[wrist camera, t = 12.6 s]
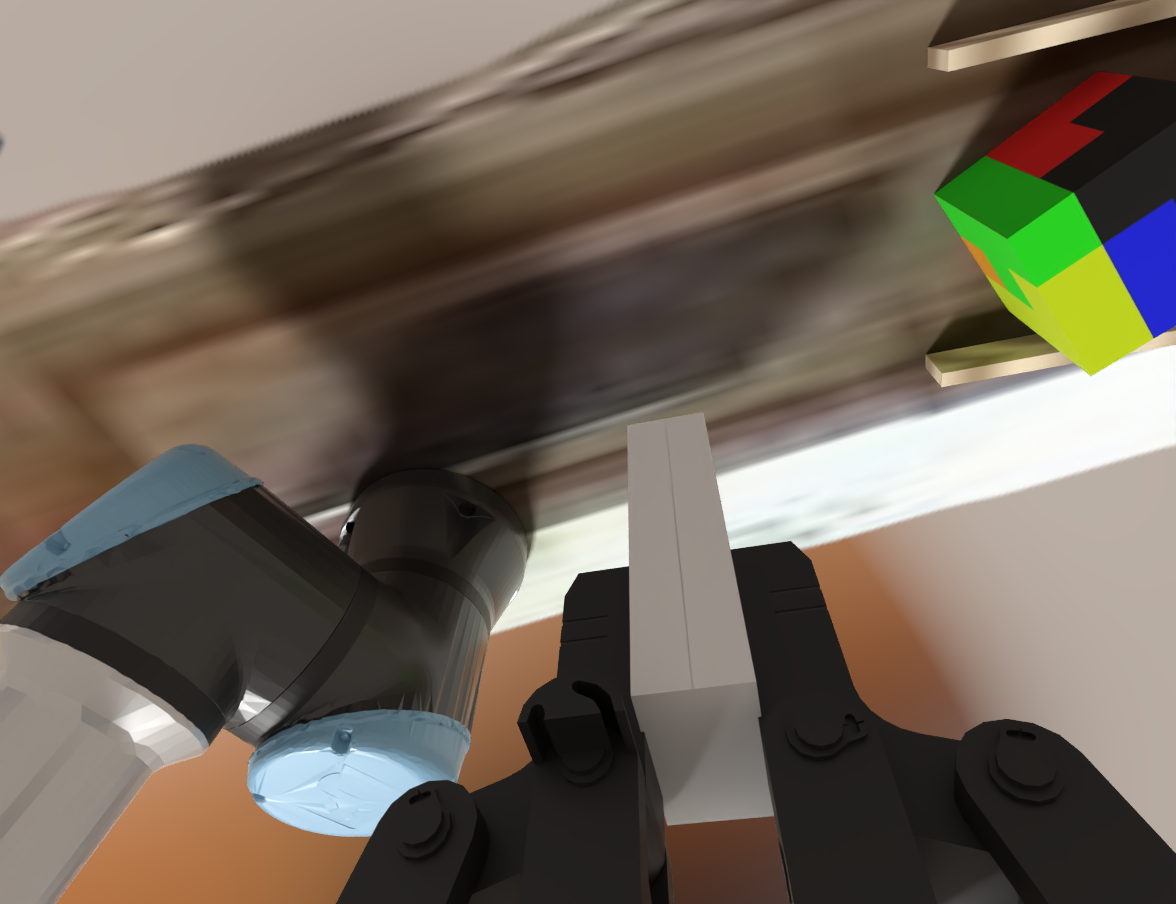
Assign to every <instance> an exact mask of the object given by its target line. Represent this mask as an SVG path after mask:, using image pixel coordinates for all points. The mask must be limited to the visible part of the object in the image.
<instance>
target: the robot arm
mask: <svg viewBox="0 0 1176 904" xmlns="http://www.w3.org/2000/svg"><path fill="white" fill-rule="evenodd" d="M627 426H628V511H629V566H628V567H621V568H614V569H607V570H600V571H593V572H586V573H579V574H578V576H577V577H576V579H575V581H574V582H573V584H572V586H571V587H570V589H569V590H568V592H567V594H566V595H565V599H564V610H563V620H562V621H563V626H562V630H561V640H560V642H561V647H560V651H559V661H558V671H557V678H554V679H553V680H551V681H549V682H548V683H546V684H544V685H543V686H541V687H540V688H538V689H537V690H536V691H535V692H534V693H533V694H532V696H531V697H530V698H529V699H528V700H527V701H526V703H525V704H524V705H523V708H522V711H521V713H520V716H519V719H518V722H517V724H518V726H519V729H520V731H521V733H522V736H523V738H524V740H525V743H526V745H527V748H528V750H529V752H530V755H531V757H532V761H531V762H530V763H528V764H527V765H526V766H525V767H524V768H522V769H521V770H520V771H518V772H516V773H514V774H512V775H511V776H509V777H507V778H505V779H502V780H500V781H498V782H495V783H493V784H491V785H488V786H486V787H484V788H481V789H479V790H477V791H474V792H472V793H469V792H468V791H467V790H466V789H465V787H464V786H462V785H460V784H457V781H458V777H459V774H460V770H461V767H462V764H463V760H464V757H465V755H466V753H467V751H468V749H469V747H470V744H471V743H470V739H471V736H470V734H471V729H472V724H473V719H474V714H475V708H476V703H477V698H478V693H479V687H480V682H481V677H482V672H483V667H484V661H485V656H486V651H487V646H488V640H489V635H490V631H491V630H492V628H493V627H494V625H495V624H496V622H497V621H498V619H499V618H500V616H501V615H502V613H503V612H504V610H505V609H506V607H507V606H508V605H509V604H510V603H511V601H512V600H513V599H514V597H515V596H516V594H517V593H518V591H519V589H520V586H521V584H522V581H523V577H524V572H525V567H526V561H527V553H528V546H527V539H526V535H525V532H524V529H523V526H522V524H521V522H520V520H519V518H518V517H517V515H516V514H515V512H514V511H513V509H512V508H511V507H510V506H509V505H508V504H507V503H506V502H505V501H504V500H503V499H502V498H501V497H500V496H499V495H498V494H496V493H495V492H494V491H492V490H491V489H490V488H488V487H486V486H485V485H483V484H481V483H479V482H477V481H475V480H473V479H471V478H469V477H466V476H463V475H460V474H457V473H453V472H449V471H443V470H436V469H412V470H405V471H401V472H397V473H393V474H390V475H388V476H385V477H383V478H381V479H379V480H377V481H375V482H374V483H372V484H371V485H370V486H368V487H367V488H366V489H365V490H364V491H363V492H362V493H361V494H360V495H359V496H358V497H357V499H356V500H355V502H354V504H353V505H352V507H351V509H350V511H349V513H348V515H347V517H346V518H345V520H344V523H343V525H342V528H341V532H340V536H339V546H338V547H337V546H336V545H335V544H334V543H332V542H331V541H330V540H329V539H328V538H326V537H325V536H324V535H323V534H322V533H320V532H319V531H318V530H317V529H315V528H314V527H313V526H312V525H311V524H309V523H308V522H307V521H306V520H304V519H303V518H302V517H301V516H300V515H298V514H297V513H296V512H295V511H293V510H292V509H291V508H290V507H289V506H287V505H286V504H285V503H284V502H283V501H281V500H280V499H279V498H278V497H276V496H275V495H274V494H273V493H272V492H270V491H269V490H268V489H267V488H265V487H264V486H263V483H264V482H263V481H261V480H260V479H258V478H255V477H254V478H251V477H250V476H249V475H247V474H246V473H245V472H243V471H242V470H240V469H239V468H238V467H236V466H235V465H234V464H232V463H231V462H230V461H228V460H227V459H225V458H224V457H223V456H221V455H220V454H219V453H217V452H216V451H214V450H213V449H211V448H209V447H206V446H203V445H198V444H186V445H181V446H177V447H174V448H172V449H170V450H168V451H166V452H165V453H163V454H161V455H160V456H158V457H157V458H155V459H154V460H152V461H151V462H149V463H148V464H146V465H145V466H143V467H142V468H140V469H139V470H138V471H136V472H135V473H133V474H132V475H131V476H129V477H128V478H126V479H125V480H123V481H122V482H121V483H119V484H118V485H117V486H115V487H114V488H112V489H111V490H110V491H108V492H107V493H105V494H104V495H103V496H101V497H100V498H99V499H97V500H96V501H95V502H93V503H92V504H91V505H89V506H88V507H87V508H85V509H84V510H83V511H81V512H80V513H79V514H77V515H76V516H75V517H73V518H72V519H71V520H70V521H68V522H67V523H66V524H64V525H63V526H62V527H61V528H60V529H59V530H58V531H56V532H55V533H53V534H52V535H50V536H49V537H48V538H47V539H45V540H44V541H43V542H42V543H40V544H39V545H38V546H36V547H34V548H33V549H32V550H30V551H29V552H28V553H26V554H25V555H24V556H23V557H21V558H20V559H19V560H18V561H16V562H15V563H14V564H13V565H12V566H10V567H9V568H8V569H7V570H6V571H5V572H4V573H3V574H2V576H1V577H0V587H1V588H2V589H3V590H4V591H5V596H6V598H8V599H10V600H12V601H13V600H15V601H17V600H18V601H19V602H18V603H17V605H16V606H15V607H14V608H13V609H12V610H11V611H10V612H9V613H8V614H7V615H5V616H4V617H3V618H2V619H1V620H0V904H56V903H57V901H58V900H59V899H60V897H61V896H62V895H63V893H64V892H65V891H66V889H67V888H68V886H69V885H70V884H71V882H72V881H73V880H74V878H75V877H76V876H77V874H78V873H79V872H80V870H81V869H82V867H83V866H84V865H85V863H86V862H87V861H88V859H89V858H90V857H91V855H92V854H93V853H94V851H95V850H96V849H97V847H98V846H99V845H100V843H101V842H102V840H103V839H104V838H105V836H106V835H107V834H108V832H109V831H110V830H111V828H112V827H113V826H114V824H115V823H116V821H117V820H118V819H119V817H120V816H121V815H122V813H123V812H124V811H125V809H126V808H127V807H128V805H129V804H130V803H131V801H132V800H133V799H134V797H135V796H136V795H137V793H138V792H139V790H140V789H141V788H142V786H143V785H144V783H145V782H146V781H147V780H148V778H149V777H150V776H151V774H152V773H154V772H156V771H158V770H159V769H161V768H163V767H165V766H169V765H172V764H175V763H178V762H182V761H185V760H188V759H191V758H194V757H198V756H201V755H203V753H204V752H205V751H206V750H207V749H208V747H209V746H210V744H211V743H212V741H213V740H214V739H215V738H216V736H217V735H218V733H219V732H220V730H221V729H222V728H224V729H226V730H227V731H229V732H230V733H232V734H234V735H235V736H237V737H239V738H240V739H242V740H243V741H244V742H246V743H247V744H249V745H250V746H252V747H253V748H255V749H256V750H255V752H254V753H252V755H251V757H250V759H249V762H248V775H247V785H248V788H249V790H250V792H252V793H253V799H254V800H255V802H256V803H257V804H258V805H259V806H260V807H261V808H262V809H263V810H264V811H265V812H267V813H268V814H270V815H271V816H273V817H274V818H276V819H278V820H280V821H282V822H284V823H287V824H289V825H291V826H294V827H297V828H300V829H303V830H307V831H311V832H315V833H321V834H326V835H333V836H344V837H353V836H354V837H355V836H371V837H370V839H369V842H368V843H367V845H366V847H365V849H364V851H363V853H362V855H361V857H360V859H359V860H358V862H357V864H356V866H355V868H354V870H353V872H352V874H351V876H350V878H349V880H348V882H347V883H346V885H345V887H344V889H343V891H342V893H341V895H340V897H339V899H338V901H337V903H336V904H674V897H673V880H672V868H671V864H670V860H669V856H668V852H667V849H666V845H665V825H664V814H665V818H666V821H667V825H677V824H688V823H699V822H711V821H722V820H733V819H745V818H756V817H767V816H774V818H775V824H776V829H777V834H778V840H779V847H780V854H781V859H782V867H783V873H784V880H785V887H786V891H787V893H788V899H789V904H1176V853H1175V852H1174V851H1173V850H1172V849H1171V848H1170V847H1169V846H1168V845H1167V844H1166V843H1165V841H1164V840H1163V839H1162V838H1161V837H1160V836H1159V835H1158V834H1157V833H1156V832H1155V831H1154V830H1153V829H1152V828H1151V826H1150V825H1149V824H1148V823H1147V822H1146V821H1145V820H1144V819H1143V818H1142V817H1141V816H1140V815H1139V814H1138V813H1137V811H1136V810H1135V809H1134V808H1133V807H1132V806H1131V805H1130V804H1129V803H1128V802H1127V801H1126V800H1125V799H1124V798H1123V797H1122V795H1121V794H1120V793H1119V792H1118V791H1117V790H1116V789H1115V788H1114V787H1113V786H1112V785H1111V784H1110V783H1109V781H1108V780H1107V779H1106V778H1105V777H1104V776H1103V775H1102V774H1101V773H1100V772H1099V771H1098V770H1097V769H1096V768H1095V767H1094V765H1093V764H1092V763H1091V762H1090V761H1089V760H1088V759H1087V758H1086V757H1085V756H1084V755H1083V754H1082V753H1081V752H1080V751H1079V750H1078V749H1076V748H1075V747H1074V746H1073V745H1071V744H1070V743H1069V742H1068V741H1066V740H1065V739H1064V738H1063V737H1061V736H1060V735H1058V734H1056V733H1054V732H1052V731H1050V730H1047V729H1045V728H1043V727H1041V726H1038V725H1036V724H1034V723H1028V722H1022V721H1016V720H1010V719H1003V720H996V721H989V722H983V723H982V724H979V725H978V726H976V727H974V728H973V729H971V730H969V731H968V732H966V733H965V734H964V736H963V738H962V740H961V741H959V740H954V739H948V738H942V737H937V736H931V735H925V734H920V733H916V732H912V731H908V730H905V729H901V728H899V727H897V726H895V725H893V724H891V723H889V722H886V721H885V720H883V719H882V718H881V717H879V716H878V715H876V714H875V713H874V712H872V711H871V710H870V709H869V708H868V707H867V706H866V704H865V703H864V702H863V701H862V700H861V699H860V697H859V695H858V693H857V691H856V690H855V687H854V685H853V683H852V680H851V677H850V674H849V671H848V668H847V665H846V662H845V659H844V656H843V653H842V650H841V647H840V644H839V641H838V638H837V635H836V632H835V630H834V627H833V623H832V620H831V618H830V615H829V612H828V610H827V607H826V603H825V600H824V597H823V594H822V591H821V590H820V585H819V582H818V579H817V576H816V573H815V570H814V567H813V564H812V561H811V560H810V559H809V558H808V557H807V556H806V555H805V554H804V553H803V552H802V551H801V550H800V549H799V548H798V547H797V546H796V545H795V544H793V543H792V542H791V541H788V542H781V543H774V544H767V545H760V546H753V547H746V548H739V549H732V550H730V546H729V541H728V536H727V531H726V526H725V521H724V515H723V510H722V505H721V500H720V495H719V490H718V485H717V480H716V475H715V470H714V465H713V460H712V455H711V449H710V444H709V439H708V434H707V429H706V424H705V419H704V414H703V412H702V413H696V414H690V415H684V416H679V417H673V418H667V419H661V420H656V421H650V422H644V423H638V424H632V425H627Z"/></svg>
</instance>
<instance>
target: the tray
mask: <svg viewBox="0 0 1176 904" xmlns="http://www.w3.org/2000/svg"><path fill="white" fill-rule="evenodd" d="M1174 16H1176V0H1116V1H1112V2H1108V3H1104V4H1100V5H1096V6H1092V7H1088V8H1084V9H1080V10H1076V11H1072V12H1068V13H1064V14H1060V15H1056V16H1052V17H1048V18H1044V19H1040V20H1036V21H1032V22H1028V23H1024V24H1020V25H1016V26H1012V27H1008V28H1004V29H1000V30H996V31H992V32H988V33H985V34H981V35H977V36H973V37H969V38H965V39H961V40H957V41H953V42H949V43H945V44H941V45H937V46H933V47H929V48H928V68H933V69H938V70H942V71H947V72H949V71H953V70H957V69H961V68H965V67H969V66H974V65H978V64H982V63H986V62H990V61H994V60H998V59H1002V58H1006V57H1010V56H1014V55H1018V54H1023V53H1027V52H1031V51H1035V50H1039V49H1043V48H1047V47H1051V46H1055V45H1059V44H1063V43H1068V42H1072V41H1076V40H1080V39H1084V38H1088V37H1092V36H1096V35H1100V34H1104V33H1108V32H1112V31H1117V30H1121V29H1125V28H1129V27H1133V26H1137V25H1141V24H1145V23H1149V22H1153V21H1157V20H1162V19H1166V18H1170V17H1174ZM1171 345H1176V326H1174V327H1173V328H1171V329H1169V330H1168V331H1166V332H1164V333H1163V334H1161V335H1159V336H1158V337H1156V338H1154V339H1153V340H1151V341H1149V342H1148V343H1146V344H1144V345H1142V346H1141V347H1139V348H1137V349H1136V350H1134V351H1132V352H1131V353H1133V352H1138V351H1144V350H1149V349H1155V348H1160V347H1166V346H1171ZM1072 363H1074V362H1073V361H1071V360H1070V359H1069V358H1068V357H1066V356H1065V355H1064V354H1062V353H1061V352H1060V351H1059V350H1057V349H1056V348H1055V347H1054V346H1052V345H1051V344H1050V343H1049V342H1047V341H1046V340H1045V339H1044V338H1042V337H1041V336H1040V335H1038V334H1033V335H1028V336H1023V337H1017V338H1012V339H1007V340H1001V341H996V342H991V343H985V344H980V345H975V346H969V347H964V348H959V349H953V350H948V351H943V352H937V353H932V354H927V355H926V369H927V370H928V371H929V372H930V374H931V375H932V376H933V377H934V378H935V380H936V381H937V382H938V383H939V384H940V385H941V387H945V386H950V385H956V384H961V383H967V382H972V381H978V380H983V379H989V378H994V377H1000V376H1006V375H1011V374H1017V373H1022V372H1028V371H1033V370H1039V369H1044V368H1050V367H1055V366H1061V365H1066V364H1072Z"/></svg>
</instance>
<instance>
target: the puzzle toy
mask: <svg viewBox="0 0 1176 904" xmlns="http://www.w3.org/2000/svg"><path fill="white" fill-rule="evenodd" d="M934 196H935V197H936V199H937V200H938V202H939V203H940V205H941V206H942V208H943V210H944V211H945V213H946V214H947V216H948V217H949V219H950V220H951V222H952V224H953V225H954V227H955V228H956V230H957V231H958V233H959V234H960V236H961V238H962V239H963V241H964V242H965V244H966V245H967V247H968V249H969V250H970V252H971V253H972V255H973V256H974V258H975V259H976V261H977V263H978V264H979V266H980V267H981V269H982V270H983V272H984V273H985V275H986V277H987V278H988V280H989V281H990V283H991V284H992V286H993V287H994V289H995V291H996V292H997V294H998V295H999V297H1000V298H1001V300H1002V302H1003V303H1004V305H1005V306H1006V308H1007V309H1008V311H1009V312H1011V313H1012V314H1013V315H1014V316H1016V317H1017V318H1018V319H1020V320H1021V321H1022V322H1023V323H1025V324H1026V325H1027V326H1028V327H1030V328H1031V329H1032V330H1033V331H1035V332H1036V333H1037V334H1038V335H1040V336H1041V337H1042V338H1044V339H1045V340H1046V341H1047V342H1049V343H1050V344H1051V345H1052V346H1054V347H1055V348H1056V349H1057V350H1059V351H1060V352H1061V353H1062V354H1064V355H1065V356H1066V357H1068V358H1069V359H1070V360H1071V361H1073V362H1074V363H1075V364H1076V365H1078V366H1079V367H1080V368H1081V369H1083V370H1084V371H1085V372H1086V373H1088V374H1089V375H1090V376H1092V375H1094V374H1095V373H1097V372H1099V371H1100V370H1102V369H1104V368H1105V367H1107V366H1109V365H1110V364H1112V363H1114V362H1116V361H1117V360H1119V359H1121V358H1122V357H1124V356H1126V355H1127V354H1129V353H1131V352H1132V351H1134V350H1136V349H1137V348H1139V347H1141V346H1142V345H1144V344H1146V343H1148V342H1149V341H1151V340H1153V339H1154V338H1156V337H1158V336H1159V335H1161V334H1163V333H1164V332H1166V331H1168V330H1169V329H1171V328H1173V327H1174V326H1176V82H1173V81H1166V80H1159V79H1152V78H1145V77H1137V76H1130V75H1123V74H1116V73H1109V72H1102V71H1097V72H1096V73H1095V74H1093V75H1092V76H1091V77H1089V78H1088V79H1087V80H1085V81H1084V82H1083V83H1081V84H1080V85H1079V86H1077V87H1076V88H1075V89H1073V90H1072V91H1071V92H1069V93H1068V94H1067V95H1065V96H1064V97H1063V98H1061V99H1060V100H1059V101H1057V102H1056V103H1055V104H1053V105H1052V106H1051V107H1049V108H1048V109H1047V110H1045V111H1044V112H1043V113H1041V114H1040V115H1039V116H1037V117H1036V118H1035V119H1033V120H1032V121H1031V122H1029V123H1028V124H1027V125H1025V126H1024V127H1023V128H1021V129H1020V130H1019V131H1017V132H1016V133H1015V134H1013V135H1012V136H1011V137H1009V138H1008V139H1007V140H1005V141H1004V142H1003V143H1001V144H1000V145H999V146H997V147H996V148H995V149H993V150H992V151H991V152H989V153H988V154H987V155H985V156H984V157H983V158H981V159H980V160H979V161H977V162H976V163H975V164H973V165H972V166H971V167H969V168H968V169H967V170H965V171H964V172H963V173H961V174H960V175H959V176H957V177H956V178H955V179H953V180H952V181H951V182H949V183H948V184H947V185H945V186H944V187H943V188H942V189H940V190H939V191H938V192H936V193H935V194H934Z"/></svg>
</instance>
